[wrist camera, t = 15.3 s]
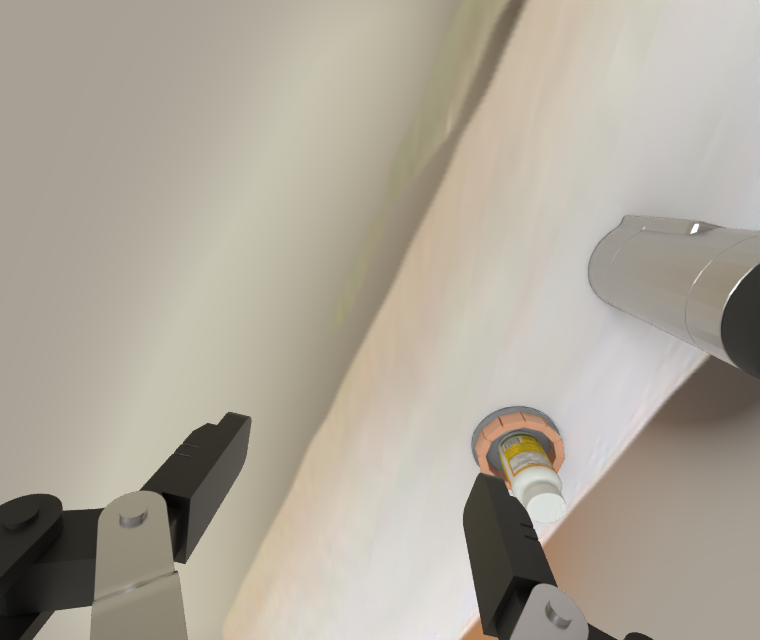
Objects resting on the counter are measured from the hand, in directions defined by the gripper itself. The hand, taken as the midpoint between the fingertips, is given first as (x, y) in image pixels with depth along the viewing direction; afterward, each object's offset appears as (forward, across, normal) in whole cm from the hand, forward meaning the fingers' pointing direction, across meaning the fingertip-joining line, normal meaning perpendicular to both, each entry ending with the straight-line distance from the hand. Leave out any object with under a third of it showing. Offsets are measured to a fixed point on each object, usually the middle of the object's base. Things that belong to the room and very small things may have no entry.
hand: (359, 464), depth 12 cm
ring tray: (+30, -21, +17) cm, 40 cm away
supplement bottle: (+30, -21, +17) cm, 40 cm away
